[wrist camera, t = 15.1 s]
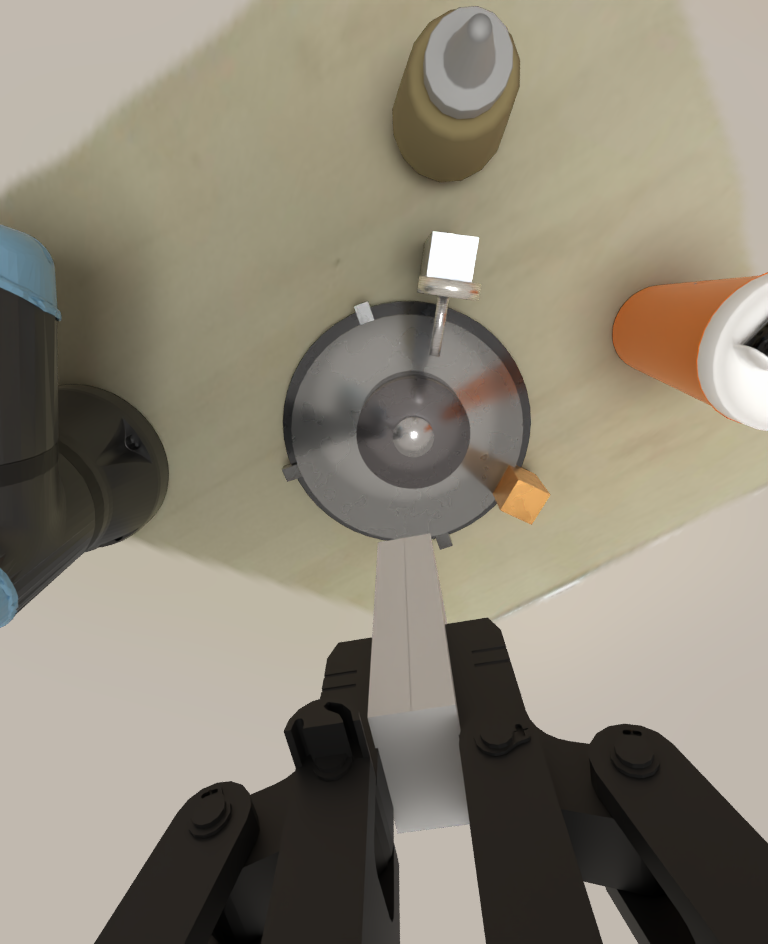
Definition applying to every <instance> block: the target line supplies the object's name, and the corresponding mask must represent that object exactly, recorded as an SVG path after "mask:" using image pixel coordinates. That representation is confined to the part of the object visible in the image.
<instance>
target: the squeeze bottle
mask: <svg viewBox="0 0 768 944" xmlns="http://www.w3.org/2000/svg"><path fill="white" fill-rule="evenodd" d="M519 86H520V59H519V56H518V53H517V50H516V47H515V44H514V41H513V38H512V35H511V34H510V33H509V32H508V30H507V27H506V26H505V25H504V24H503V23H502V22H501V20H500V19H499V18H498V17H497V16H496V15H495V14H494V13H493V12H490V11H488V10H486V9H483V8H481V7H479V6H472V7H459V8H458V9H455V10H450V11H448V12H446V13H444V14H443V15H441V16H439V17H438V18H436V19H434V20H433V21H431V22H429V24H428V25H427V26H426V28H425V29H424V30H423V32H422V33H421V34H420V36H419V37H418V38H417V40H416V41H415V42H414V44H413V47H412V50H411V53H410V56H409V59H408V62H407V65H406V68H405V71H404V74H403V77H402V80H401V83H400V86H399V89H398V93H397V96H396V99H395V103H394V106H393V109H392V111H393V132H394V137H395V140H396V142H397V144H398V147H399V149H400V152H401V154H402V156H403V158H404V159H405V160H406V161H407V162H408V163H409V164H410V165H411V166H412V167H413V168H414V169H415V170H416V171H417V172H418V173H419V174H420V175H423V176H425V177H428V178H431V179H433V180H436V181H438V182H446V181H461V180H463V179H465V178H467V177H469V176H471V175H472V174H474V173H476V172H478V171H480V170H482V168H483V167H484V166H485V165H486V164H487V162H488V161H489V160H490V159H491V158H492V156H493V155H494V154H495V153H496V152H497V150H498V147H499V144H500V142H501V139H502V136H503V133H504V131H505V128H506V125H507V122H508V119H509V116H510V113H511V110H512V107H513V104H514V101H515V98H516V95H517V92H518V90H519Z"/></svg>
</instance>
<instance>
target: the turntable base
mask: <svg viewBox="0 0 768 944" xmlns="http://www.w3.org/2000/svg"><path fill="white" fill-rule="evenodd" d="M436 306H437V305H436V304H433V303H425V302H418V301H398V302H390V303H383V304H379V305H376V306H372V307H371V310H372V313H373V316H374V319H377V318H381V317H385V316H392V315H402V314H416V315H424V316H431V317H435V312H436ZM446 321H448V322H450V323H453V324H455V325H458V326H460V327H462V328H463V329H465V330H467V331H468V332H470V333H472V334H473V335H475V336H476V337H477V338H479V339H480V340H481V341H482V342H484V343H485V344H486V345H487V346H488V347H489V348H490V349H491V350H492V351H493V352H494V353H495V354H496V355H497V356H498V357H499V359H500V360H501V361H502V363H503V364H504V366H505V367H506V368H507V370H508V372H509V374H510V376H511V378H512V380H513V382H514V384H515V387H516V389H517V392H518V395H519V398H520V403H521V408H522V416H523V436H522V444H521V449H520V454H519V458H518V460H517V463H516V465H517V466H519V467H521V466H522V463H523V461H524V458H525V455H526V451H527V447H528V443H529V437H530V426H531V417H530V404H529V399H528V394H527V390H526V387H525V384H524V381H523V378H522V375H521V373H520V371H519V369H518V367H517V365H516V363H515V361H514V360H513V358H512V357H511V355H510V354H509V352H508V351H507V349H506V348H505V347H504V346H503V345H502V344H501V342H500V341H499V340H498V339H497V338H496V337H495V336H494V335H493V334H492V333H491V332H489V331H488V330H487V329H486V328H485V327H483V326H482V325H481V324H479V323H478V322H476V321H474V320H473V319H471V318H470V317H468V316H466V315H464V314H462V313H459V312H457V311H455V310H453V309H450V308H448V309H447V315H446ZM358 325H360V322H359V320H358V317H357V314H356V313H354V314H351V315H349V316H348V317H346V318H345V319H343V320H341V321H340V322H338V323H336V324H335V325H334V326H332V327H331V328H330V329H329V330H327V331H326V332H325V333H324V334H323V335H321V336H320V337H319V339H318V340H317V341H316V342H315V343H314V344H313V345H312V346H311V347H310V348H309V350H308V351H307V353H306V354H305V355H304V357H303V358H302V360H301V361H300V363H299V365H298V367H297V369H296V371H295V373H294V375H293V377H292V380H291V382H290V385H289V388H288V391H287V396H286V400H285V405H284V416H283V429H284V440H285V445H286V450H287V454H288V457H289V460H290V463H291V464H292V463H295V462H297V461H296V458H295V454H294V449H293V444H292V432H291V425H292V413H293V408H294V403H295V399H296V396H297V393H298V390H299V387H300V385H301V383H302V381H303V379H304V377H305V375H306V373H307V371H308V370H309V368H310V367H311V365H312V364H313V362H314V361H315V360H316V358H317V357H318V356H319V355H320V354H321V353H322V352H323V351H324V350H325V349H326V347H327V346H329V345H330V344H331V343H332V342H333V341H335V340H336V339H337V338H338V337H339V336H341V335H342V334H344V333H346V332H347V331H349V330H351V329H352V328H354V327H356V326H358ZM297 479H298V481H299V482H300V484H301V485H302V487H303V488H304V490H305V491H306V493H307V494H308V495H309V497H310V498H311V499H312V500H313V501H314V502H315V504H316V505H317V506H318V507H319V508H321V509H322V510H323V511H324V512H325V513H326V514H327V515H328V516H330V517H331V518H333V519H334V520H336V521H337V522H339V523H340V524H342V525H344V526H345V527H347V528H349V529H351V530H353V531H355V532H358V533H361V534H363V535H366V536H369V537H373V538H377V539H381V540H387V541H389V540H395V539H392V538H384V537H380V536H376V535H372V534H369V533H366V532H364V531H361V530H358V529H356V528H354V527H352V526H350V525H349V524H347V523H345V522H343V521H342V520H341V519H339V518H338V517H336V516H335V515H333V514H332V513H331V512H330V511H329V510H328V509H327V508H325V507H324V506H323V505H322V503H321V502H320V501H319V500H318V499H317V498H316V497H315V496H314V494H313V493H312V491H311V490H310V488H309V487H308V485H307V484H306V482H305V480H304V478H303V477H300V478H297ZM496 504H497V502H496V500H494V501H493V502H492V504H491V505H490V506H489V507H487V508H486V509H485V510H484V511H483V512H482V513H481V514H479V515H478V516H477V517H475V518H474V519H472V520H471V521H469V522H468V523H466V524H464V525H462V526H460V527H458V528H456V529H454V530H452V531H449V532H448V533H449V534H451V533H454V532H457V531H459V530H461V529H463V528H465V527H466V526H468V525H470V524H472V523H473V522H475V521H476V520H478V519H479V518H481V517H482V516H484V515H485V514H486V513H487V512H488V511H489V510H491V509H492V508H493V507H494V506H495V505H496ZM435 538H436V536H432V537H431V539H435Z"/></svg>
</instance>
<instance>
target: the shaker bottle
mask: <svg viewBox="0 0 768 944" xmlns="http://www.w3.org/2000/svg"><path fill="white" fill-rule="evenodd" d="M612 335H613V344H614V347H615V350H616V352H617V354H618V355H619V357H620V358H621V359H622V360H623V361H624V362H625V363H626V364H628V365H629V366H631V367H632V368H634V369H637V370H639V371H641V372H643V373H645V374H647V375H649V376H651V377H653V378H655V379H657V380H659V381H661V382H663V383H665V384H667V385H669V386H672V387H674V388H676V389H678V390H680V391H682V392H684V393H686V394H688V395H690V396H692V397H694V398H696V399H698V400H700V401H702V402H704V403H707V404H709V405H711V406H712V407H713V408H714V409H715V410H716V411H717V412H719V413H720V414H722V415H723V416H724V417H726V418H728V419H730V420H733V421H736V422H738V423H742V424H745V425H747V426H750V427H752V428H755V429H759V430H765V431H768V273H765V274H763V275H760V276H751V277H740V278H730V279H719V280H708V281H698V282H687V283H676V284H666V285H656V286H651V287H647V288H645V289H643V290H641V291H639V292H637V293H636V294H634V295H633V296H631V297H630V298H629V299H628V300H627V301H626V302H625V303H624V305H623V306H622V307H621V309H620V310H619V312H618V314H617V316H616V318H615V322H614V325H613V334H612Z"/></svg>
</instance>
